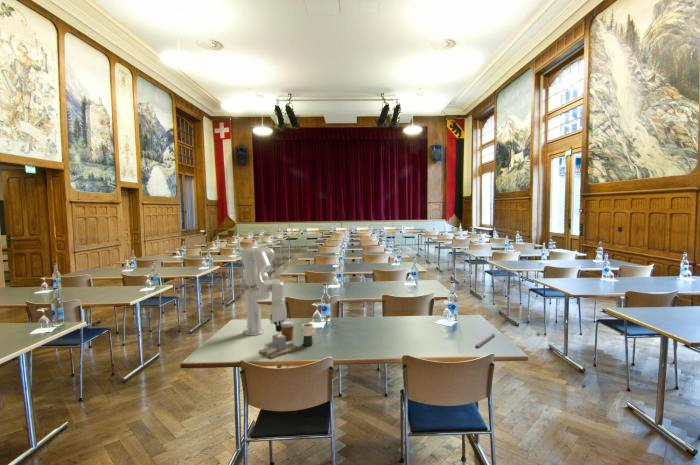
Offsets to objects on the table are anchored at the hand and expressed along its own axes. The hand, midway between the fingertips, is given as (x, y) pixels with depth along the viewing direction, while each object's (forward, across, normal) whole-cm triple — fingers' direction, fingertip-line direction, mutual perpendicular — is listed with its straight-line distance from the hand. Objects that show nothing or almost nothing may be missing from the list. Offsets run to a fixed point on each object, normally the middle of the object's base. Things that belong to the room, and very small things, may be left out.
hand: (278, 331), depth 225 cm
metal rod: (+10, -99, +85) cm, 131 cm away
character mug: (+11, -17, +7) cm, 22 cm away
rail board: (+11, +1, +2) cm, 12 cm away
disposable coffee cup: (+12, -13, -10) cm, 20 cm away
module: (+10, +1, +2) cm, 10 cm away
